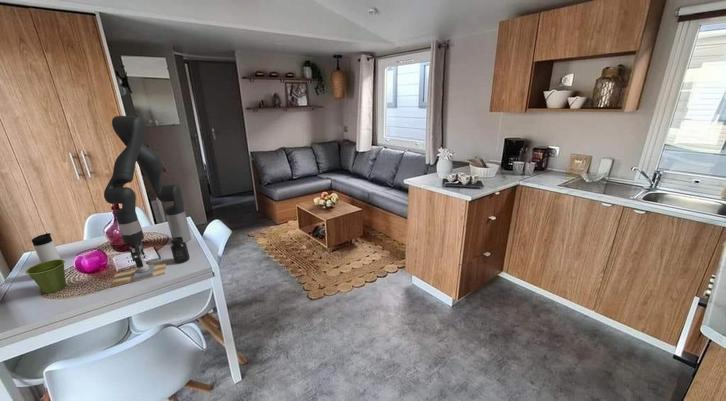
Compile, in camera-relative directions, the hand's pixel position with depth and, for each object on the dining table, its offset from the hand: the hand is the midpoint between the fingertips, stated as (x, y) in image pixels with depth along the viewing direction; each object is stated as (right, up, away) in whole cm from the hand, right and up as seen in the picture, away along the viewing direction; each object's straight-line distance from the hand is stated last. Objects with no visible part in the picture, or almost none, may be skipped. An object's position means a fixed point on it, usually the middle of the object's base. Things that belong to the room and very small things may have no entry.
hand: (141, 262), depth 136 cm
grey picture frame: (0, -5, +1) cm, 5 cm away
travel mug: (-44, -7, +5) cm, 45 cm away
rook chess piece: (0, -4, +1) cm, 4 cm away
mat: (-2, -6, +2) cm, 7 cm away
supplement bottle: (+11, -2, +14) cm, 17 cm away
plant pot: (-33, -10, -6) cm, 35 cm away
